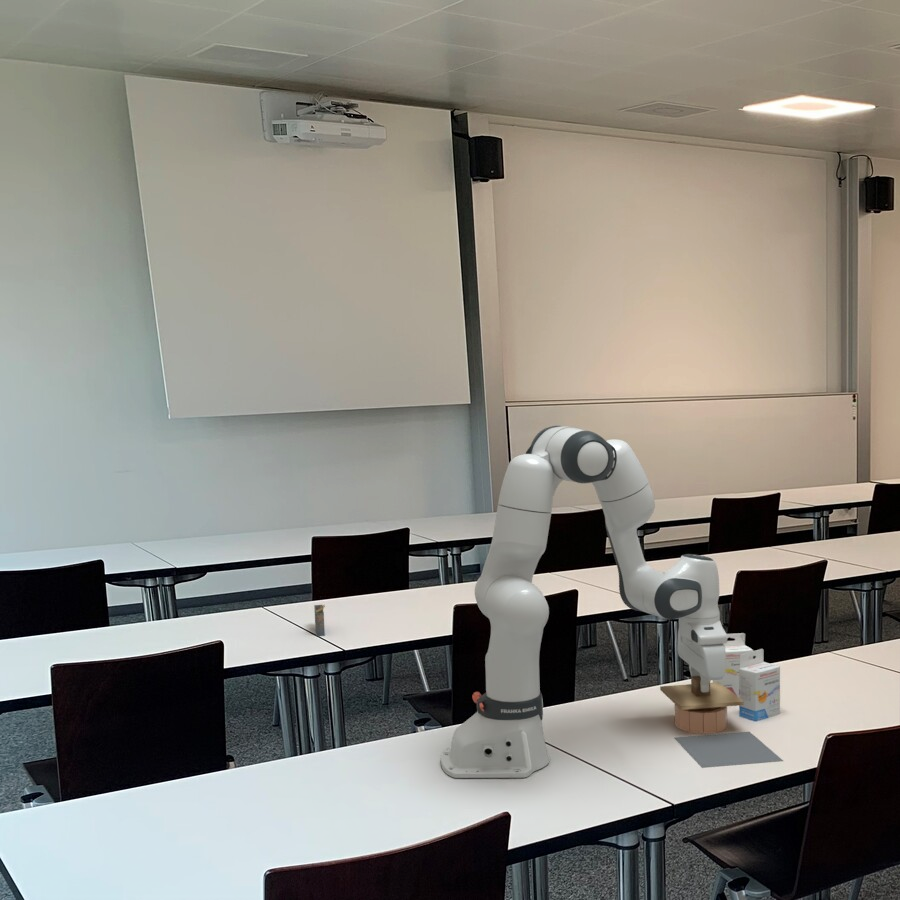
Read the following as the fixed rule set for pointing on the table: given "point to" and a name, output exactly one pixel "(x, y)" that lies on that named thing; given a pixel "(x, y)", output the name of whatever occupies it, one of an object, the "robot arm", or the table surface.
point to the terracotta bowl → (701, 719)
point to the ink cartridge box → (734, 661)
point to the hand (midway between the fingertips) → (700, 688)
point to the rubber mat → (727, 749)
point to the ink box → (758, 687)
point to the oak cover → (700, 695)
